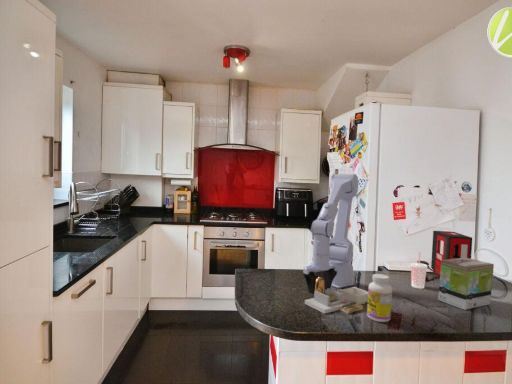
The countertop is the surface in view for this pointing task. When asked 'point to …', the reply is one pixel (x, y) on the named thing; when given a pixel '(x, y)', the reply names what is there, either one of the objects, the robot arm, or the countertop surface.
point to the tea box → (465, 283)
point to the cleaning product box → (449, 248)
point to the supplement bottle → (379, 298)
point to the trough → (351, 307)
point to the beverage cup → (418, 274)
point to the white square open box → (355, 295)
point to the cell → (320, 285)
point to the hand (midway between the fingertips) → (319, 291)
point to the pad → (331, 297)
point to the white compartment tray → (326, 301)
